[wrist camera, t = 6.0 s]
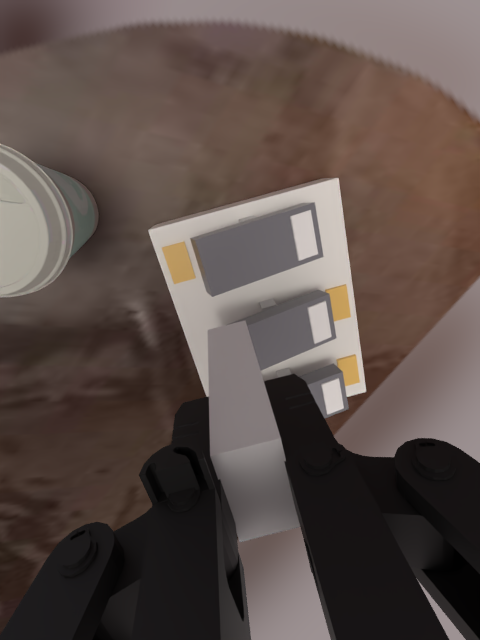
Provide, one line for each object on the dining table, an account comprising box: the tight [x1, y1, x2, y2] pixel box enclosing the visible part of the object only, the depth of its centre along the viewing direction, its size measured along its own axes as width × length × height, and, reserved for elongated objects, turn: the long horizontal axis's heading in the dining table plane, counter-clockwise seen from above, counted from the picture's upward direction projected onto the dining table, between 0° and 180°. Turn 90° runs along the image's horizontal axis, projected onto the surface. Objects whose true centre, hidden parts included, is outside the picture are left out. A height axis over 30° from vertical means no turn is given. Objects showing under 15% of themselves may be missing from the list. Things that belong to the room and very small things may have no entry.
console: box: [148, 178, 366, 397], centre depth 31 cm, size 15×20×6 cm
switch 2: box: [227, 290, 336, 371], centre depth 27 cm, size 9×4×2 cm, turn 105°
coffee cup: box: [0, 144, 99, 297], centre depth 23 cm, size 9×8×12 cm
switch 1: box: [190, 202, 324, 297], centre depth 24 cm, size 9×4×2 cm, turn 105°
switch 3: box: [298, 363, 349, 418], centre depth 30 cm, size 9×4×2 cm, turn 105°
